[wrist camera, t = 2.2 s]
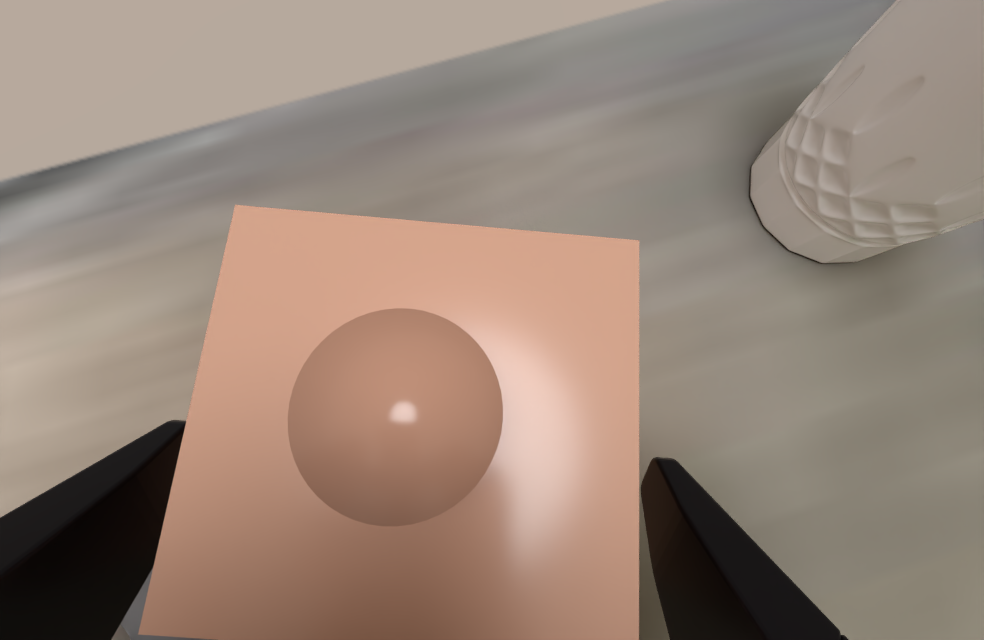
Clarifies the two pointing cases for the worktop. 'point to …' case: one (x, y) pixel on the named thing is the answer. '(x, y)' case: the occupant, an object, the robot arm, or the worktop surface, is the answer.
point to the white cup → (883, 140)
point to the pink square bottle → (408, 438)
